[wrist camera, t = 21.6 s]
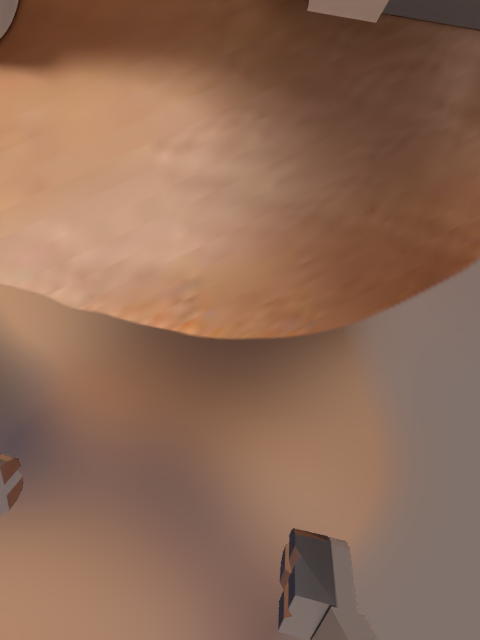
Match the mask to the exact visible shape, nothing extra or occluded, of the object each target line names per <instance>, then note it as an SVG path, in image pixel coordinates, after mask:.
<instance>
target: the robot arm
mask: <svg viewBox="0 0 480 640" xmlns="http://www.w3.org/2000/svg"><path fill="white" fill-rule="evenodd" d="M18 1H19V0H0V38H1V37H2V36H3V35H4V34H5V32H6V31H7V29H8V28H9V26H10V24H11V22H12V20H13V18H14V15H15V12H16V9H17V5H18ZM20 466H21V464H20V460H19V458H16V457H12V456H8V455H5V454H1V453H0V515H1V514H3V513H5V512H7V511H9V510H10V509H11V507H12V506H13V505H14V503H15V502H16V501H17V499H18V497H19V495H20V493H21V491H22V488H23V483H24V482H23V476H22V475H21V474H20V473H19V472H18V469H19V468H20ZM280 584H281V586H282V588H283V593H282V595H281V597H280V600H279V615H278V617H279V618H278V631H279V632H281V633H285V634H288V635H291V636H295V637H298V638H301V639H304V640H379V639H378V637H377V635H376V634H375V632H374V630H373V629H372V627H371V625H370V624H369V622H368V620H367V619H366V617H365V615H362V614H359V611H358V604H357V597H356V590H355V583H354V576H353V570H352V562H351V555H350V549H349V546H348V543H347V542H346V541H343V540H339V539H334V538H331V537H328V536H325V535H320V534H316V533H311V532H308V531H303V530H299V529H295V528H293V529H292V530H291V532H290V535H289V543H288V544H286V545H285V548H284V551H283V555H282V560H281V567H280Z"/></svg>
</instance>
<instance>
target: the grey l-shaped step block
mask: <svg viewBox="0 0 480 640" xmlns="http://www.w3.org/2000/svg"><path fill="white" fill-rule="evenodd" d="M382 13H385V14H391V15H397V16H402V17H408V18H414V19H420V20H426V21H432V22H437V23H443V24H449V25H455V26H461V27H467V28H472V29H478V30H480V0H389V1H388V3H387V5H386V6H385V8H384V10H383V12H382Z"/></svg>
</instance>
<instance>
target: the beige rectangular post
mask: <svg viewBox="0 0 480 640" xmlns="http://www.w3.org/2000/svg"><path fill="white" fill-rule="evenodd" d="M388 1H389V0H309V4H308V9H307V11H311V12H317V13H323V14H328V15H334V16H340V17H346V18H351V19H357V20H363V21H369V22H374V23H376V22H377V20H378V18H379V17H380V15H381V13H382V12H383V10H384V8H385V6H386V5H387V3H388Z"/></svg>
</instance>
